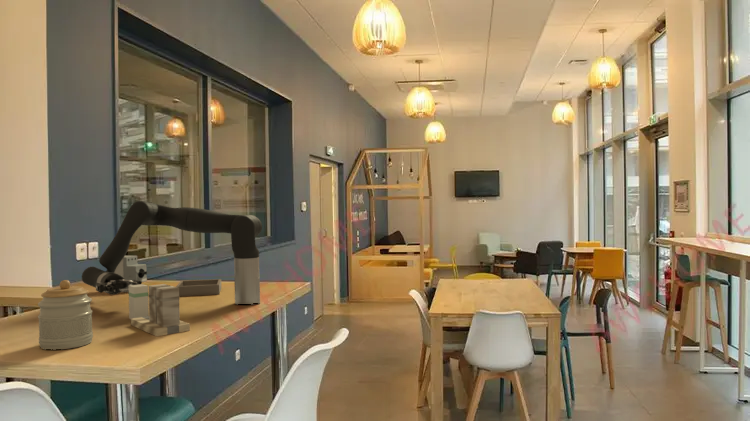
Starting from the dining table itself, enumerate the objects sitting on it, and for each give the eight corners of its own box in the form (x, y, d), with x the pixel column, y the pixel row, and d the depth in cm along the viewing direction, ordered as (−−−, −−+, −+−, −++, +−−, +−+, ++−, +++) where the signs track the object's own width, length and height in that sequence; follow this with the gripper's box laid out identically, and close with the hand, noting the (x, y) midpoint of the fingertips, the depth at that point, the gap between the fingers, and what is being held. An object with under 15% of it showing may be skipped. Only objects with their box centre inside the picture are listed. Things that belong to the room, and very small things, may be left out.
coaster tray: (221, 288, 246) (221, 279, 245) (219, 294, 229) (219, 284, 229) (181, 289, 242) (180, 280, 242) (176, 296, 225) (175, 286, 225)
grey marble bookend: (131, 325, 174) (130, 283, 174) (162, 320, 181) (161, 280, 180) (156, 336, 159) (155, 291, 159) (189, 330, 166) (188, 287, 165)
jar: (35, 353, 143) (33, 285, 142) (42, 341, 155) (41, 278, 154) (91, 347, 148) (89, 281, 148) (94, 336, 160) (93, 275, 159)
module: (129, 318, 184) (128, 285, 183) (143, 316, 187) (142, 284, 187) (134, 320, 180) (133, 287, 180) (148, 318, 183) (148, 285, 183)
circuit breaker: (139, 292, 236) (139, 257, 236) (110, 291, 239) (109, 257, 239) (150, 289, 244) (149, 255, 243) (121, 289, 247) (120, 255, 246)
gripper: (89, 274, 198) (103, 279, 187) (130, 271, 208) (146, 275, 196) (89, 295, 199) (104, 301, 187) (130, 290, 208) (146, 296, 196)
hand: (125, 288), depth 191 cm, fingers open, 8 cm apart
